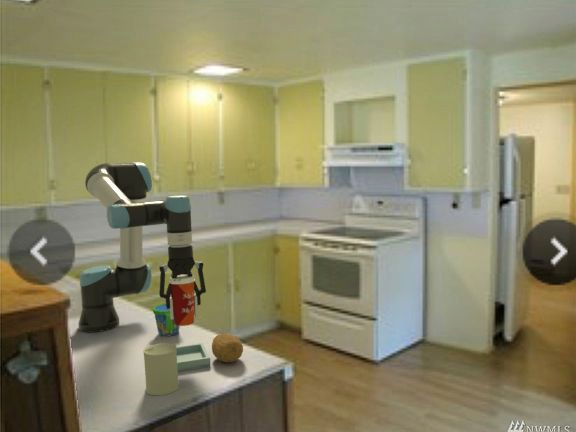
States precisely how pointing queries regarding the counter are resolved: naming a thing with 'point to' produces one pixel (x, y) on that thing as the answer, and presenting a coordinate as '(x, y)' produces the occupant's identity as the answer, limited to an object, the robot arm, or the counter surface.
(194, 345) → the tray
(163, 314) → the snack cup
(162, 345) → the can
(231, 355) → the potato
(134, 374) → the counter surface
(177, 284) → the coffee cup
